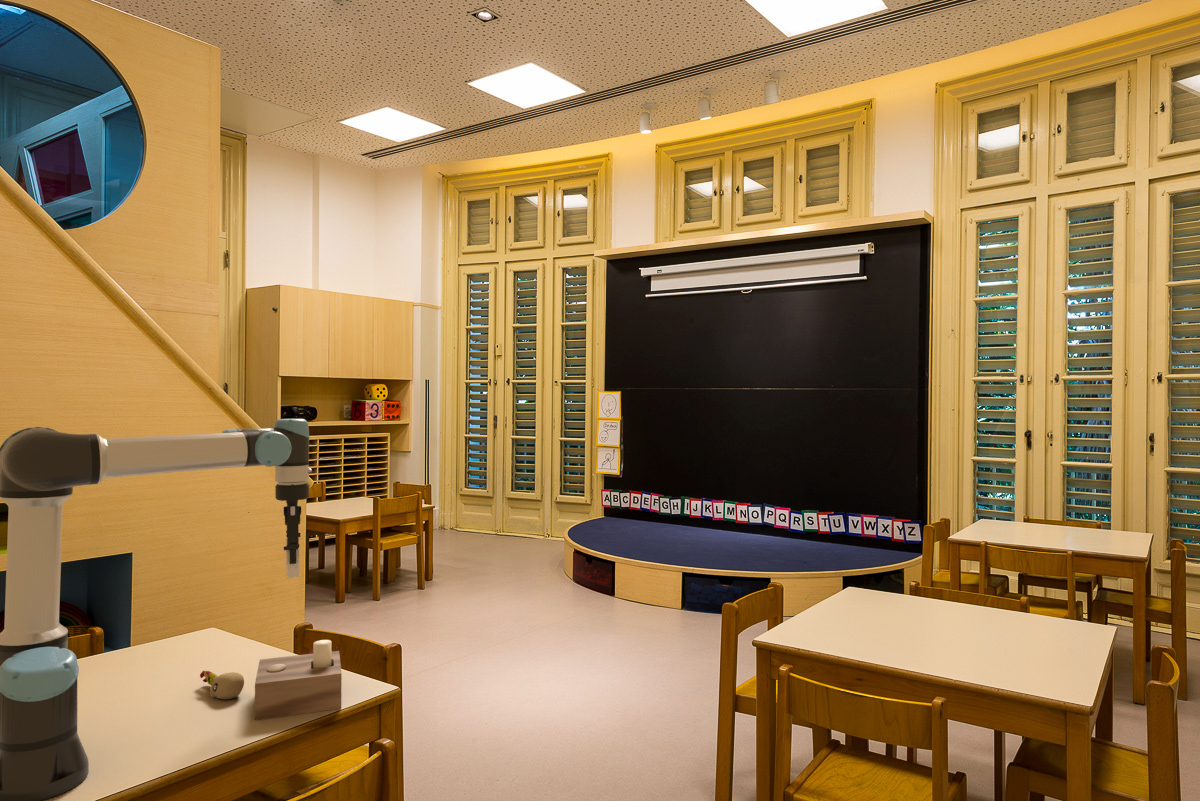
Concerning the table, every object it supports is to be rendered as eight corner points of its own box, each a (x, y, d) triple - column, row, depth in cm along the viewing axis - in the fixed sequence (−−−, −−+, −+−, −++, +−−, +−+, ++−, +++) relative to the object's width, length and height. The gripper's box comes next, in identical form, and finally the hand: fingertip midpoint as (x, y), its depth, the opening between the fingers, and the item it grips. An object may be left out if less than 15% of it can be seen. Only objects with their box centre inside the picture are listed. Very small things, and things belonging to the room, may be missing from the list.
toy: (186, 676, 181) (214, 692, 171) (213, 655, 186) (241, 668, 176) (199, 694, 183) (227, 710, 174) (225, 672, 188) (254, 687, 178)
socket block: (341, 708, 171) (341, 671, 171) (254, 720, 165) (254, 681, 165) (338, 682, 186) (339, 649, 186) (259, 692, 180) (259, 657, 180)
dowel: (331, 678, 176) (331, 644, 176) (313, 680, 175) (313, 646, 174) (331, 672, 180) (331, 639, 180) (313, 674, 178) (313, 640, 178)
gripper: (310, 488, 170) (310, 581, 171) (307, 476, 193) (307, 558, 194) (274, 490, 168) (275, 584, 168) (275, 477, 191) (276, 560, 191)
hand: (292, 570), depth 181 cm, fingers open, 13 cm apart
